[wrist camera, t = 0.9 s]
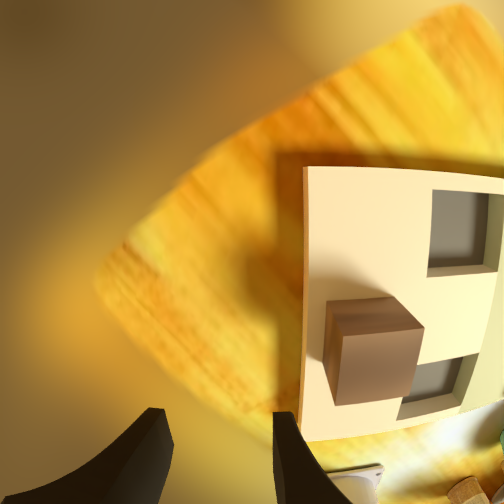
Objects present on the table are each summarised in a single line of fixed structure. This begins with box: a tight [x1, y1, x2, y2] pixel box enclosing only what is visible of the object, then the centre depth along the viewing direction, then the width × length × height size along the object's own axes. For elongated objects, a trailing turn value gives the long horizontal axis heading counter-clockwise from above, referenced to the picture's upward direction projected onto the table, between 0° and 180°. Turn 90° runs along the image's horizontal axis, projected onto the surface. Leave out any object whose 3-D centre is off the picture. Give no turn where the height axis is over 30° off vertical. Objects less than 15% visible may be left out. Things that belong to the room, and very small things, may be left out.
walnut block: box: [322, 297, 425, 406], centre depth 15 cm, size 4×4×4 cm
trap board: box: [298, 166, 504, 442], centre depth 17 cm, size 18×20×4 cm
